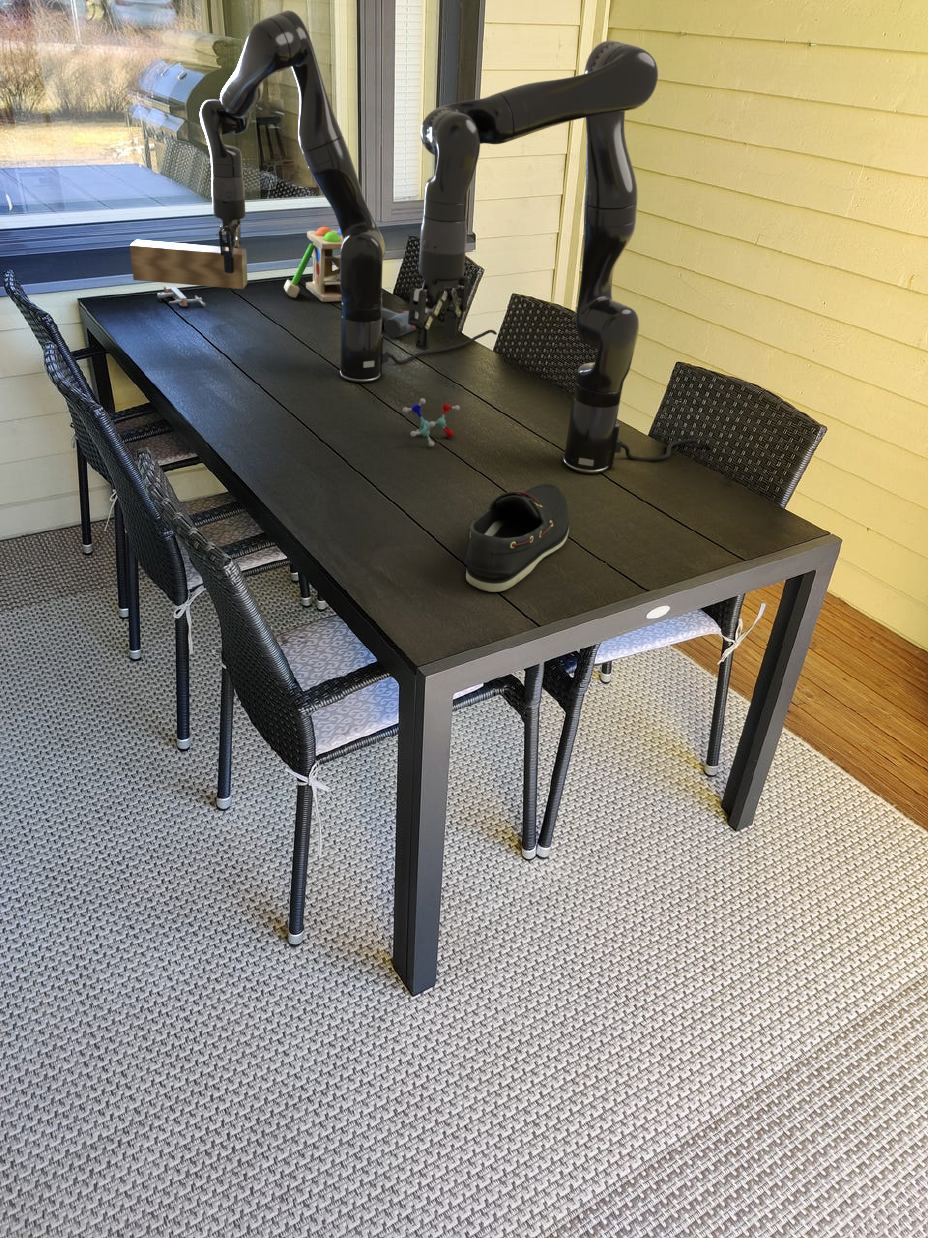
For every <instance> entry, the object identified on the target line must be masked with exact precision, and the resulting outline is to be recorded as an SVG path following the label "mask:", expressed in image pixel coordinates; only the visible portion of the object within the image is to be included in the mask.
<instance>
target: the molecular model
mask: <svg viewBox="0 0 928 1238" xmlns="http://www.w3.org/2000/svg"><path fill="white" fill-rule="evenodd" d="M425 404H426V399H425V398H420V399H419V403H418V404H414V405H413V406H412V407H409V408H408V407H406V406H405V407H403V408H402V413H403V414H408V413H409V412H413V413H415V414H417V416H418V417H419V419H420V421H421V422H420V423H419V425H420V426H419V429H416V430H412V431H410V434H409V436H410V437H412V438H414V437H417V436H422V437H425V438H426V439H427V442H428V446H429V448H433V447H434V446H435V441H433V440H432V439H431V437H430V434H431V429H432V428H435V426H436V425H437V426H438V427H440V428H442V430H443V431H444V433H445V436H446V437H447V438H453V437H454V431H453V430H452V429H450V428H449V427H448V425H447V424H446V419H445V417H446V415H447V412H449V411H450V410H454V411H455V412H459V411H460V410H461V408H460V405H457V404H456V405H454V406H453V405H450V404H449V403H444V404H443V405H442V410H443V412H442V414H441V417H439V418H438V419H437V420H436V421H433V420H431V421H428V420H426V419H424V417H423V415H422V412H421V410H422V405H425Z"/></svg>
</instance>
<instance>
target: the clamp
mask: <svg viewBox="0 0 928 1238" xmlns="http://www.w3.org/2000/svg"><path fill="white" fill-rule="evenodd" d="M156 295H157V299H166V298H173V299H174V300H171V301H168V304H176V305H177V304H179V306H181V307H188V304H189V303H197V304H201V306H202V307H206V305H207V304H206V303H205V302H203V298H202V297H199V296H197V295H194V296H193V297H194V298H192V299H188V298H187V297H186V296H185V295H184V294H183V292H182V291H181V290H179V289H178V288H177V286H176V285H173V286H163V292H157V294H156Z"/></svg>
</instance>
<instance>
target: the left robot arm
mask: <svg viewBox="0 0 928 1238" xmlns="http://www.w3.org/2000/svg"><path fill="white" fill-rule="evenodd" d="M238 60H239V61H238V63H237V66H236V68H235V69H234V71H233V73H232V75H231V76H230V78H229V79H228V80H227V82H226V83H225V85H224V86H223V88H222V90H221V92H220V96H219V97H220V98H219V99H207V100H205V101H204V102H203V103H202V105H201V107H200V111H199V119H200V125H201V127H202V130H203V132H204V135H205V136H204V137H205V139H206V142H207V143H206V144H207V146H208V151H209V156H210V166H211V167H210V169H211V183H210V186H211V187H210V188H211V203H212V215H213V217H215V218H216V219H220V220H221V221H222V222H221V225H219V230H218V240H219V247H220V251H221V256H223V257H224V270H225V272H226V273H233V272H234V248H240V249H241V245H242V239H241V234H242V233H241V232H242V231H241V228H242V227H241V224H242V222H241V221H242V219H245V217H246V195H245V194H246V193H245V192H246V191H245V182H244V176H243V174H244V172H243V155H242V151H241V149H239V148H238V147H236V146H233V145H229V144H225V143H224V141H223V139H222V136H237V135H241V134H243V133H245V132H246V131H247V130H248V128H249V123H250V117H251V113H252V111H253V109H254V108H255V107H256V105H258V103H259V102H260V99H261V98H262V97H263V92H264V81H265V80H266V79H267V78H268V77H270V76H272V75H273V74H275V73H280V72H283V71H286V70H288V69H290V68H291V69H292V72H293V75H294V78H295V80H296V84H297V89H298V95H299V113H298V125H297V126H298V130H297V138H298V145H299V148H300V150H301V152H302V153H301V154H302V155H303V158H304V160H305V163H306V166H307V168H308V171H309V172H310V174H311V176H312V179H313V180H314V182H315V184H316V186H317V187H318V189H319V190H320V191H321V193H322V194H323V196H324V197H325V199H326V200H327V202H328V203H329V205H330V207H331V209H332V211H333V213H334V216H335V218H336V222H337V224H338V226H339V229H340V230H341V234H342V237H343V244H342V247H341V249H340V255H339V256H340V279H339V281H340V289H341V301H340V302H341V307H340V308H341V310H340V311H341V312H340V314H341V315H340V322H341V323H340V370H339V376H340V377H341V378H342V380H345V381H348V382H352V383H359V384H360V383H361V384H364V383H365V384H366V383H367V384H369V383H373V382H376V381H378V380H380V378H381V375H382V374H383V364H386V363H388V362H389V359H390V358H391V360H392V361H393V362H394V363H395V364H397V365H398V364H399V365H404V364H406V363H408V362H410V361H412V360H414V359H416V358H418V357H422V356H427V355H432V354H433V355H434V354H440V353H444V352H448V351H449V352H450V351H453V350H456V349H459V348H463V347H465V346H467V345H469V344H472V343H473V342H475V341H476V340H478V339H480V338H483V337H484V336H486V335H488V334H493V335H495V336H497V335H498V333H497V332H496V330H494V329H488V330H485V331H484V332H481V333H479V334H477V335H475V336H473V337H472V338H470V339H469V340H467V341H464V342H462V343H459V344H456V345H452V346H447V347H444V348H438V349H433V350H425V351H421V352H416V353H414V354H413V355H411V356H409V357H407V358H406V359H403V360H398V359H397V358H396V356H395V355H394V354H393V353H389V352H390V351H388V350H386V349H384V335H383V334H382V327H383V326H382V307H383V299H384V298H383V297H384V296H383V265H384V264H383V262H384V257H385V254H386V243H385V241H384V237H383V235H382V233H381V231H380V229H379V227H378V225H377V223H376V221H375V220H374V217H373V215H372V213H371V211H370V209H369V207H368V205H367V201H366V200H365V198H364V195H363V191H362V188H361V184H360V182H359V178H358V175H357V172H356V168H355V166H354V162H353V160H352V157H351V153H350V151H349V147H348V145H347V142H346V140H345V138H344V135H343V132H342V130H341V128H340V125H339V122H338V121H337V120H338V119H337V118H336V115H335V113H334V109H333V107H332V105H331V101H330V98H329V96H328V92H327V90H326V87H325V83H324V81H323V76H322V73H321V70H320V67H319V64H318V60H317V56H316V52H315V48H314V45H313V42H312V39H311V36H310V33H309V31H308V29H307V27H306V25H305V23H304V21H303V20H302V18H301V16H299V15H298V13H296V12H295V11H293V10H284V11H280V12H278V13H275V14H273V15H270V16H269V17H266V18H263V19H261V20H259V21H258V22H256V23H254V25H253V26H252V27H251V29H250V31H249V33H248V35H247V37H246V40H245V43H244V46H243V50H242V52H241V55H240V58H239V59H238ZM226 247H228V248H229V251H226Z"/></svg>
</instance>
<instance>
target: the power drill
mask: <svg viewBox="0 0 928 1238" xmlns="http://www.w3.org/2000/svg"><path fill="white" fill-rule="evenodd" d="M425 308H427V309H429V308H428V307H427V306H426V307H425ZM430 310H431V309H430ZM417 314H418V312H416V311H415V318H416V316H417ZM408 315H409V310H404V311H402V312H400V313H398V312H396V311H393V310H390V309H388V308H386V307H383V306H382V326H381V327H383V328H384V331H385V334H386V335H387V336H389V337H390V338H393V339H397V338H399V337H402V336H405V335H407V334H410V333H412V332H416V326H413V325H410V324H408ZM427 316H428V315H425V318H424V321H425V320H426V318H427ZM434 320H435V318H433V320H432V322H433V321H434Z"/></svg>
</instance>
